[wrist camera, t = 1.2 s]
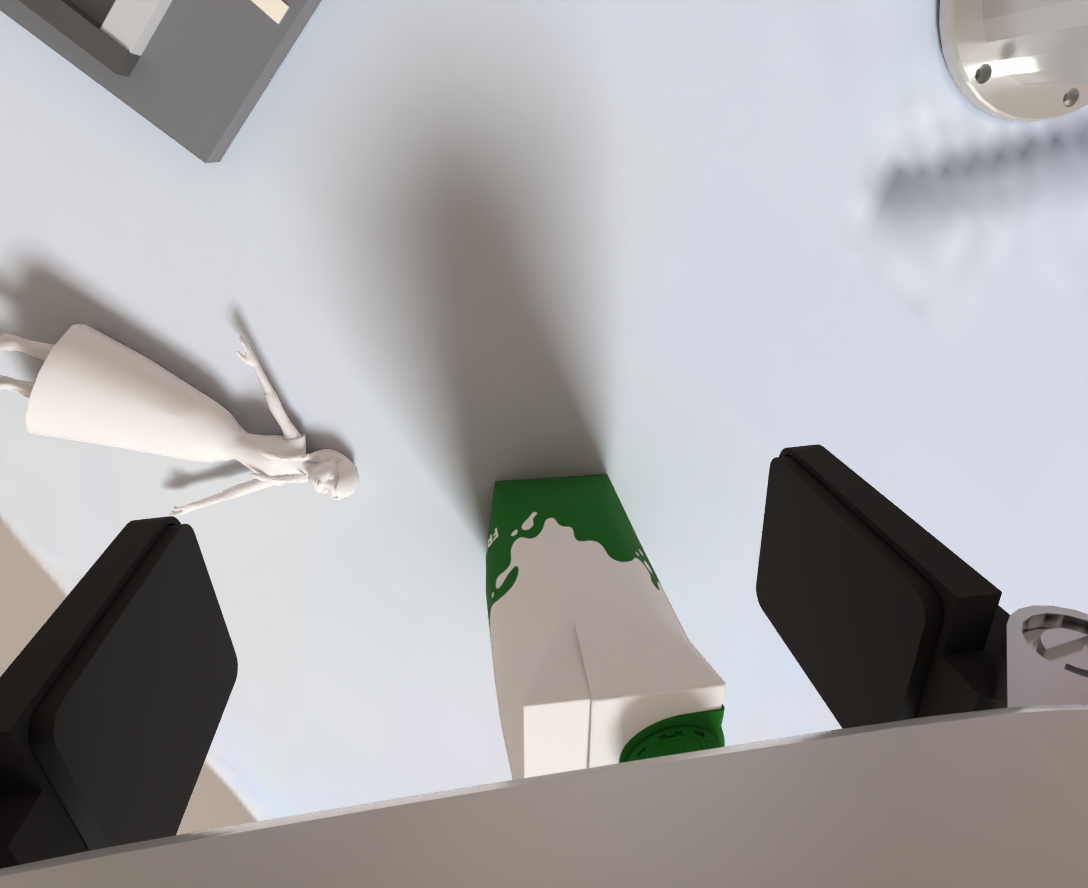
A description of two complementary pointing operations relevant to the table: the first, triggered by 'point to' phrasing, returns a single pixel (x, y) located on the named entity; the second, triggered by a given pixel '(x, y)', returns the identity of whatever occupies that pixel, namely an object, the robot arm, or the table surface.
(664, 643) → the milk carton
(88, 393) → the woman figurine
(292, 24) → the console
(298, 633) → the table surface
